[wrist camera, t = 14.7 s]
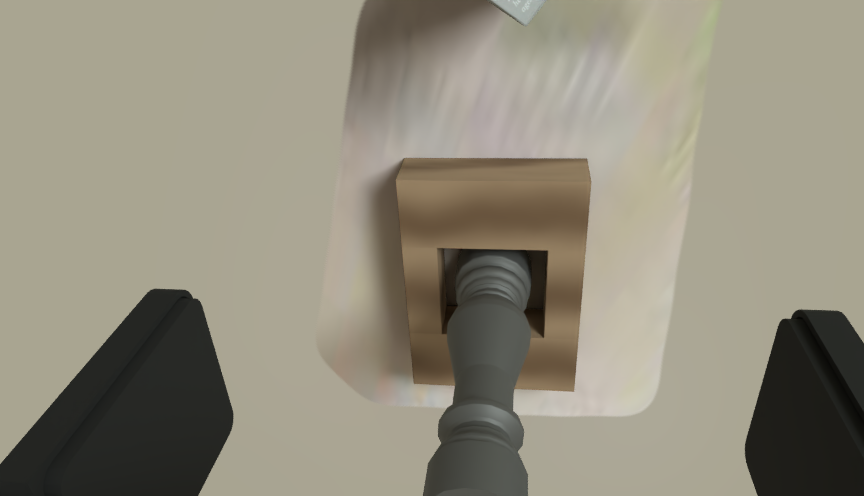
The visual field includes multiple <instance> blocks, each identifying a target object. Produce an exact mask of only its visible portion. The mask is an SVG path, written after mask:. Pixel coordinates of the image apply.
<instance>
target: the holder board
mask: <svg viewBox="0 0 864 496" xmlns="http://www.w3.org/2000/svg"><path fill="white" fill-rule="evenodd" d="M396 189H397V200H398V211H399V222H400V234H401V245H402V256H403V267H404V278H405V289H406V300H407V311H408V322H409V333H410V344H411V356H412V367H413V378H414V384H433V385H453V386H455V381H454V376H453V370H452V365H451V359H450V354H449V349H448V344H447V326H448V322H449V320H450V318H451V316H452V315H453V313H454V311H455V310H456V308H457V307H458V306H447V299H446V280H445V260H444V248H459V249H505V250H546V261H545V283H544V305H543V309H525V310H524V314H525V316H526V318H527V321H528V323H529V326H530V328H531V339H530V347H529V350H528V353H527V356H526V358H525V361H524V364H523V366H522V369H521V372H520V375H519V377H518V380H517V383H516V386H515V388H514V389H532V390H552V391H571V392H574V386H575V373H576V361H577V349H578V337H579V325H580V313H581V300H582V288H583V276H584V264H585V252H586V239H587V227H588V215H589V203H590V191H591V178H590V172H589V167H588V161H587V159H511V158H404V161H403V163H402V166H401V168H400V171H399V173H398V176H397V178H396Z"/></svg>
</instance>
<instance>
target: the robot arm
mask: <svg viewBox="0 0 864 496" xmlns="http://www.w3.org/2000/svg"><path fill="white" fill-rule="evenodd" d="M232 425H233V410H232V406H231V403H230V400H229V396H228V393H227V390H226V386H225V382H224V379H223V376H222V372H221V369H220V365H219V362H218V359H217V355H216V352H215V348H214V345H213V342H212V339H211V335H210V331H209V328H208V325H207V322H206V318H205V314H204V311H203V307H202V305H201V302H200V301H199V300H198V299H193V297H192V295H191V294H190V293H189V292H188V291H186V290H174V289H153V290H150V291H149V292H148V293H147V294H146V295H145V296H144V297H143V298H142V300H141V301H140V302H139V303H138V304H137V305H136V307H135V308H134V309H133V310H132V311H131V313H130V314H129V315H128V316H127V317H126V318H125V320H124V321H123V322H122V323H121V324H120V325H119V326H118V328H117V329H116V330H115V331H114V332H113V333H112V335H111V336H110V337H109V338H108V339H107V340H106V342H105V343H104V344H103V345H102V346H101V348H100V349H99V350H98V351H97V352H96V353H95V355H94V356H93V357H92V358H91V359H90V360H89V362H88V363H87V364H86V365H85V366H84V367H83V369H82V370H81V371H80V372H79V373H78V374H77V375H76V377H75V378H74V379H73V380H72V381H71V382H70V384H69V385H68V386H67V387H66V388H65V389H64V391H63V392H62V393H61V394H60V395H59V396H58V398H57V399H56V400H55V401H54V402H53V403H52V405H51V406H50V407H49V408H48V409H47V410H46V412H45V413H44V414H43V415H42V416H41V417H40V419H39V420H38V421H37V422H36V423H35V424H34V425H33V427H32V428H31V429H30V430H29V431H28V433H27V434H26V435H25V436H24V437H23V438H22V440H21V441H20V442H19V443H18V444H17V445H16V446H15V448H14V449H13V450H12V451H11V452H10V454H9V455H8V456H7V457H6V458H5V459H4V460H3V462H2V463H1V464H0V496H198V495H199V493H200V491H201V489H202V487H203V485H204V483H205V481H206V479H207V477H208V475H209V473H210V471H211V469H212V467H213V465H214V463H215V461H216V460H217V458H218V456H219V454H220V452H221V450H222V448H223V446H224V444H225V442H226V440H227V438H228V436H229V434H230V431H231V429H232ZM745 457H746V463H747V466H748V469H749V472H750V475H751V478H752V481H753V484H754V486H755V489H756V492H757V495H758V496H864V343H863V342H862V340H861V339H860V337H859V336H858V334H857V333H856V331H855V330H854V328H853V327H852V325H851V324H850V322H849V321H848V320H847V318H846V316H845V315H844V314H843V313H842V312H839V311H826V310H797V311H795V312H794V314H793V315H792V318H791V319H782V320H781V322H780V323H779V326H778V329H777V332H776V336H775V340H774V343H773V347H772V350H771V354H770V357H769V361H768V364H767V368H766V371H765V375H764V378H763V382H762V386H761V389H760V392H759V396H758V400H757V403H756V407H755V410H754V414H753V418H752V421H751V424H750V428H749V431H748V435H747V439H746V443H745Z"/></svg>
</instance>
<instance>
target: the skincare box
mask: <svg viewBox="0 0 864 496" xmlns="http://www.w3.org/2000/svg"><path fill="white" fill-rule="evenodd" d="M487 1H489V2H490V3H491V4H493V5H494V6H496V7H497V8H499V9H500V10H502V11H503V12H504V13H506V14H507V15H509V16H510V17H512V18H513V19H515V20H516V21H517V22H519V23H520V24H522V25H523V26H527V25H528V24H529V22H530V21H531V20H532V19H533V17H534V16H535V15H536V13H537V12H538V11H539V10H540V8H541V7H542V6H543V4H544V3H545V2H546V0H487Z"/></svg>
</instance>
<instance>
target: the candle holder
mask: <svg viewBox="0 0 864 496" xmlns="http://www.w3.org/2000/svg"><path fill="white" fill-rule="evenodd" d="M530 290H531V260H530V258H529V255H528V252H527V250H505V249H463V250H462V252H461V253H460V255H459V259H458V264H457V270H456V276H455V292H456V302H457V304H458V307H457V308H456V310H455V311H454V313H453V315H452V316H451V318H450V320H449V322H448V326H447V344H448V349H449V354H450V359H451V365H452V370H453V376H454V381H455V390H454V398H453V405H451V406H450V407H448V408H447V409H446V411H445V412H444V414H443V415H442V417H441V419H440V420H439V424H438V437H439V439H440V441H441V445H440V446H439V448H438V449H437V451H436V452H435V454H434V455H433V457H432V458H431V460H430V461H429V463H428V469H427V474H426V480H425V486H424V492H423V496H528V474H527V472H526V469H525V467H524V465H523V463H522V460H521V458H520V456H519V454H518V450H519V449H520V448H521V447H522V444H523V437H524V429H523V426H522V424H521V422H520V419H519V417H518V415H517V414H516V413H515V412H513V393H514V388H515V386H516V383H517V380H518V377H519V375H520V372H521V369H522V366H523V364H524V361H525V358H526V356H527V353H528V350H529V347H530V339H531V328H530V326H529V323H528V321H527V318H526V316H525V314H524V310H525V309H526V307H527V300H528V298H529V297H530Z"/></svg>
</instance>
